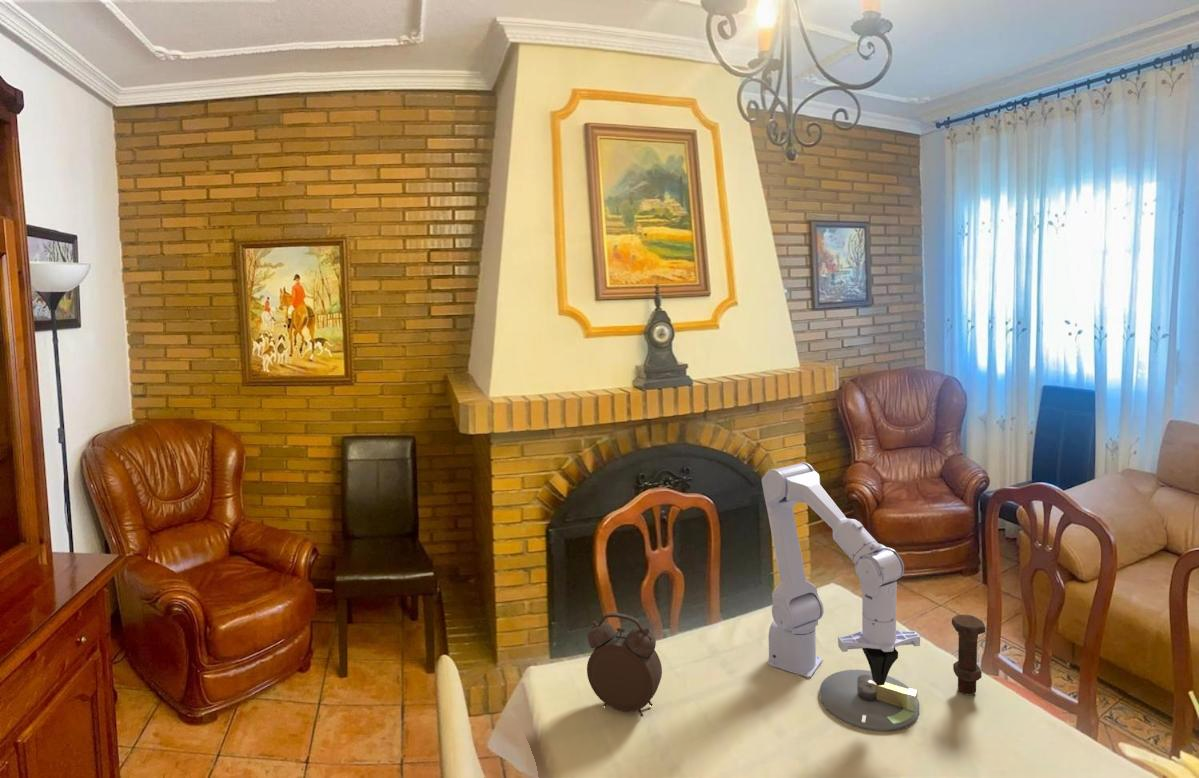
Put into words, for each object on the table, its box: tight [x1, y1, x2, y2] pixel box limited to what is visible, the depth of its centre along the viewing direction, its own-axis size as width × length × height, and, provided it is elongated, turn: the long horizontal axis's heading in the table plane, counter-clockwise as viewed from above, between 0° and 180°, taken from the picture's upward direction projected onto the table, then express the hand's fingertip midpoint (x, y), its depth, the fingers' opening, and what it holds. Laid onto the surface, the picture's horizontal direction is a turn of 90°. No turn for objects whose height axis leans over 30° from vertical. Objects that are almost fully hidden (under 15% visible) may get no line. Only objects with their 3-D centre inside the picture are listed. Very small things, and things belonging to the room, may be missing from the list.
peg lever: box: [857, 675, 918, 712], centre depth 126 cm, size 11×4×3 cm, turn 52°
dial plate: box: [819, 669, 920, 733], centre depth 129 cm, size 18×18×1 cm
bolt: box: [951, 614, 986, 695], centre depth 128 cm, size 6×5×15 cm
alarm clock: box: [586, 612, 663, 717], centre depth 130 cm, size 14×7×20 cm, turn 65°
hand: (878, 682), depth 123 cm, fingers closed
